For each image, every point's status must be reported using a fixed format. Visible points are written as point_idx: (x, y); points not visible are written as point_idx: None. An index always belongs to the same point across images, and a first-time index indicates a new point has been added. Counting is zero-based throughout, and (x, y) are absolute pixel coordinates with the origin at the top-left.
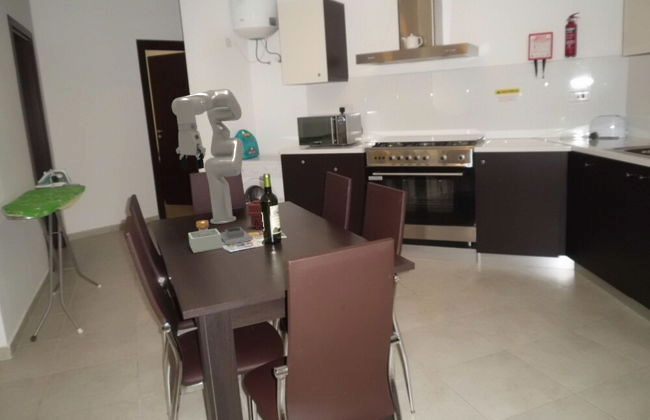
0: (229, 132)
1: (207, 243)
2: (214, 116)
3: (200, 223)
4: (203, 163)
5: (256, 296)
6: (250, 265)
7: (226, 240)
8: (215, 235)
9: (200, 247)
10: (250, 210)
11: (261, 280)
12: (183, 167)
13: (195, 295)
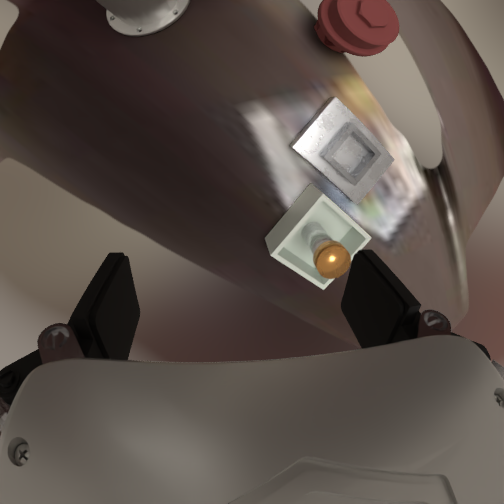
0: None
1: None
2: None
3: (338, 275)
4: (391, 274)
5: (452, 330)
6: (435, 278)
7: (357, 203)
8: (362, 247)
9: None
10: (357, 45)
11: (453, 305)
12: (138, 318)
13: None
